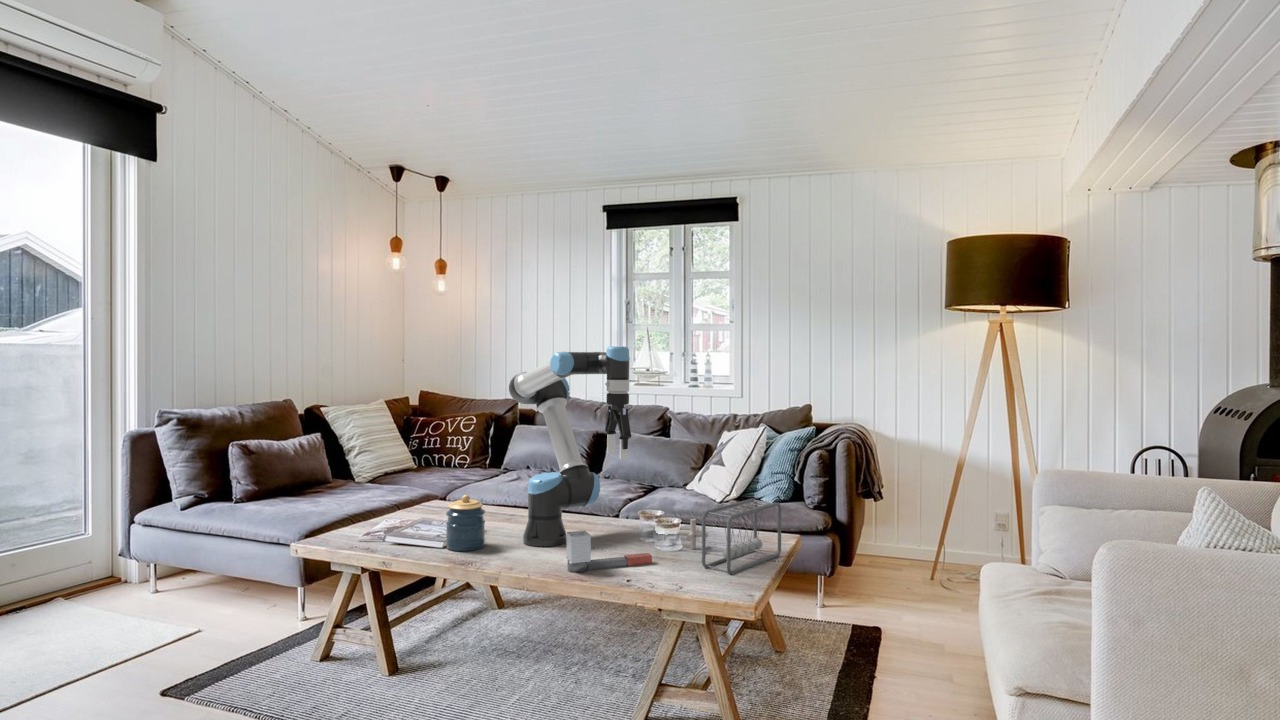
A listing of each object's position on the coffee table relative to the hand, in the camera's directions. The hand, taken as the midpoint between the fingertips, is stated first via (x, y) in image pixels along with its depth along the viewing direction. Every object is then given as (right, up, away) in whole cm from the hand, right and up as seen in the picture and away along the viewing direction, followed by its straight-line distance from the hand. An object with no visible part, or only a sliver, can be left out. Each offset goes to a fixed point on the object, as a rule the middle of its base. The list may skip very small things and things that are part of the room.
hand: (617, 456), depth 245 cm
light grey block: (-11, -29, -21) cm, 37 cm away
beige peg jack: (+25, -32, +4) cm, 41 cm away
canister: (-52, -32, +5) cm, 61 cm away
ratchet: (-2, -32, -17) cm, 36 cm away
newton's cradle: (+40, -32, -11) cm, 53 cm away
